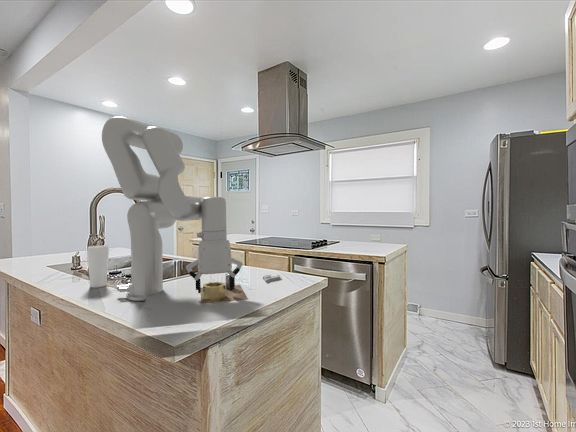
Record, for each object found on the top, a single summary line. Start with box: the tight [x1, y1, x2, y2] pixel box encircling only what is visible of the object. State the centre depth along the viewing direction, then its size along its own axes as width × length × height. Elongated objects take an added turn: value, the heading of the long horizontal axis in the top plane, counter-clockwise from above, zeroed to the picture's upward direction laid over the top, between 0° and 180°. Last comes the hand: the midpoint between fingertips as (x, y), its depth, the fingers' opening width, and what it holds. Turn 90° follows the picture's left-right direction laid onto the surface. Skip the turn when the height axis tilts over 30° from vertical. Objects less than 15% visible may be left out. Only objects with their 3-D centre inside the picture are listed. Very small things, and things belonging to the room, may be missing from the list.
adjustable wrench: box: [262, 274, 281, 284], centre depth 118 cm, size 25×6×2 cm, turn 151°
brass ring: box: [202, 281, 226, 301], centre depth 95 cm, size 7×7×4 cm
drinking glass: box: [86, 244, 110, 289], centre depth 113 cm, size 7×7×15 cm
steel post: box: [225, 272, 236, 290], centre depth 106 cm, size 3×3×5 cm
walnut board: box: [200, 284, 249, 304], centre depth 100 cm, size 14×18×2 cm
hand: (215, 290), depth 95 cm, fingers open, 9 cm apart
